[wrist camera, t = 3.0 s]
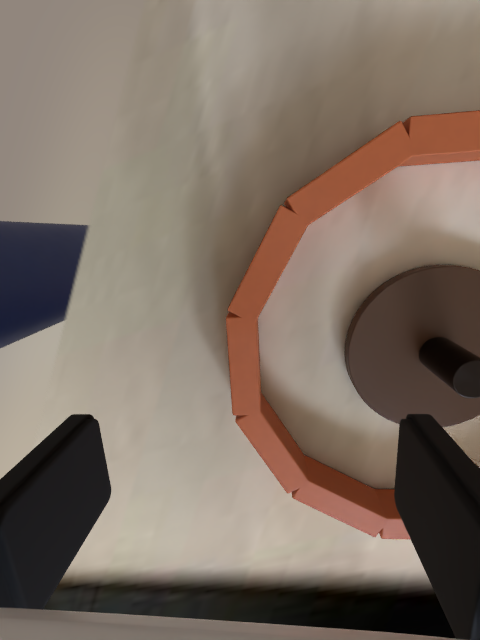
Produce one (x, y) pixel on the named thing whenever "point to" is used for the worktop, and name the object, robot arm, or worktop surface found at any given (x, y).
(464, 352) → the ring post
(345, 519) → the ring
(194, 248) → the worktop surface
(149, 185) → the worktop surface
